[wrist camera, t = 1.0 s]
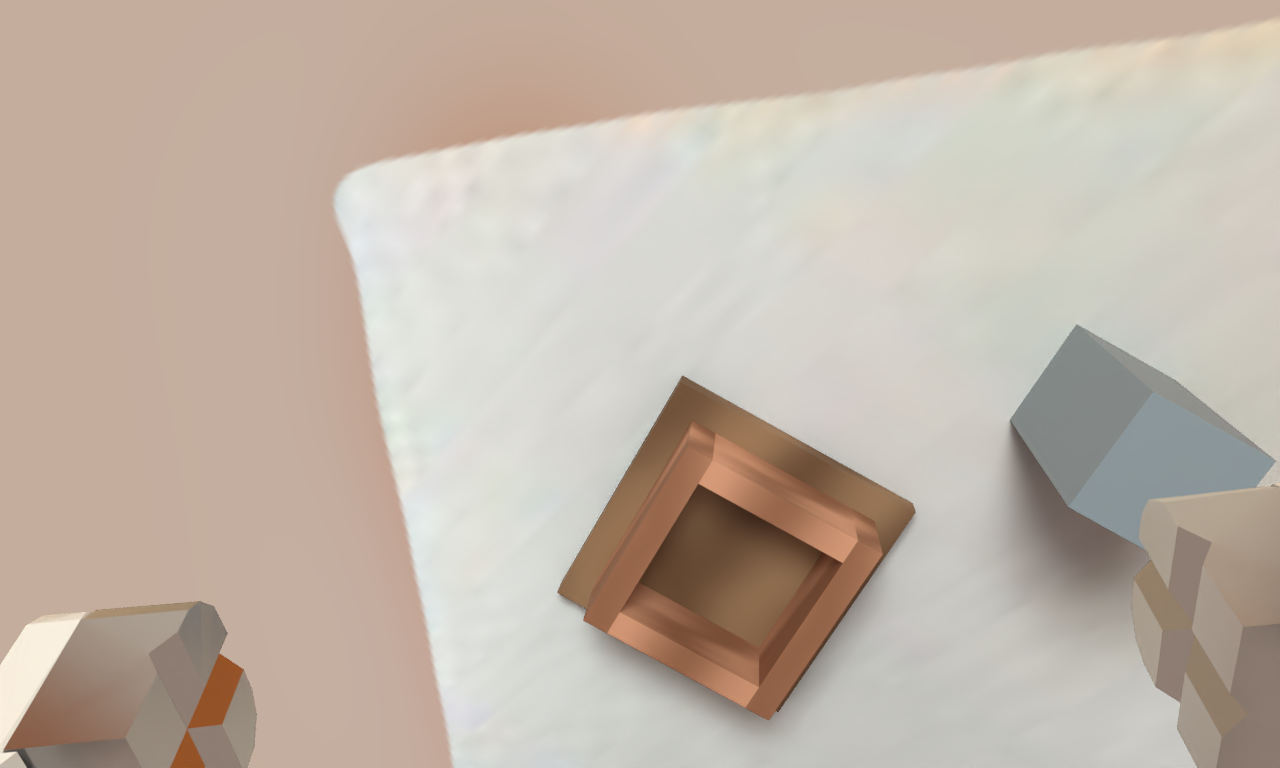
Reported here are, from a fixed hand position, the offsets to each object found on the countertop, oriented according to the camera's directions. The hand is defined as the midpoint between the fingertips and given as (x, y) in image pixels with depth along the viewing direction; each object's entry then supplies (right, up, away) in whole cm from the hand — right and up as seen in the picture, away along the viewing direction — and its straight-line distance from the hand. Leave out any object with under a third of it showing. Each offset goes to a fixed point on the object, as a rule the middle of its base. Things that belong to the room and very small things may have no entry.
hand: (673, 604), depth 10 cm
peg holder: (+4, -6, +43) cm, 44 cm away
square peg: (+19, +1, +40) cm, 44 cm away
